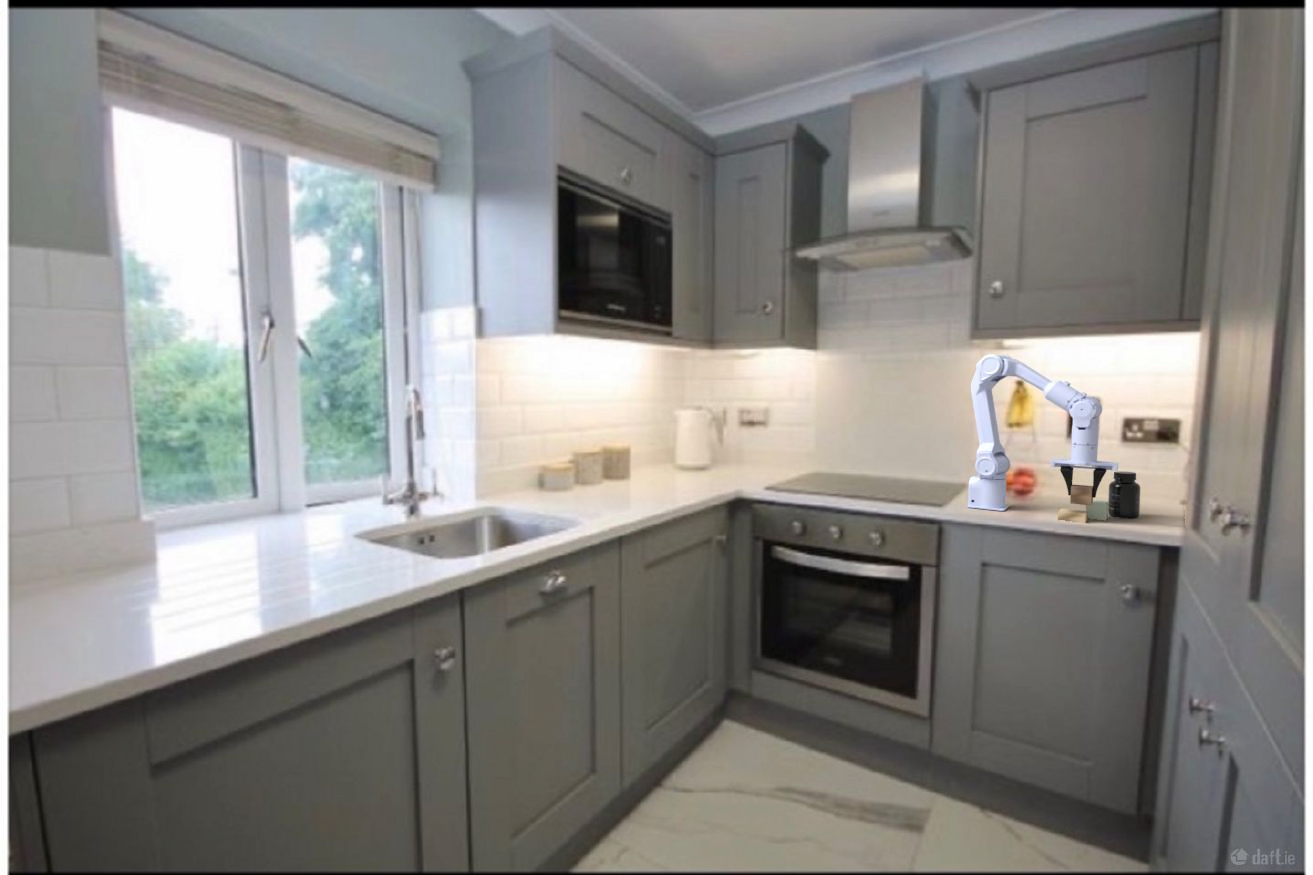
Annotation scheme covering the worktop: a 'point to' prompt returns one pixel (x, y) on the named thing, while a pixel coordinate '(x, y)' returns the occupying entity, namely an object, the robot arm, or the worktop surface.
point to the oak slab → (1073, 515)
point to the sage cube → (1098, 510)
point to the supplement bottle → (1124, 496)
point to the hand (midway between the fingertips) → (1081, 495)
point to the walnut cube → (1081, 495)
